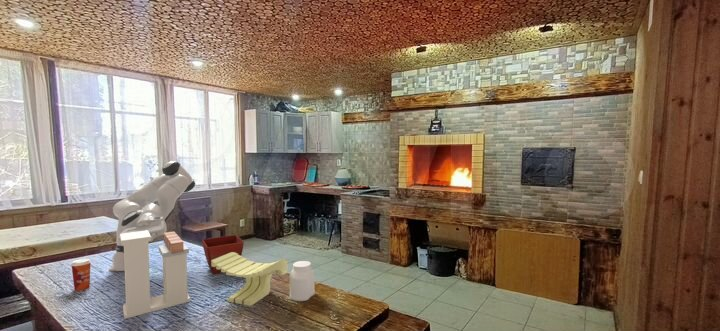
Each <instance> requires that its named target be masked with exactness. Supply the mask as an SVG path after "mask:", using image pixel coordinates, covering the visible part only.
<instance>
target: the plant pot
mask: <svg viewBox="0 0 720 331" xmlns="http://www.w3.org/2000/svg"><path fill="white" fill-rule="evenodd" d="M201 241H202V242H201V243H202V248H203V251H204V256H205V260H206V262H207V265H208V267H209V270H210V272H211V274H212V275H213V276H215V275H218V274H225V273H226V272H221V269H220V270H218V269H216V267H212V266H211V260H213V259H216V258H218V257H221V256H223V255H226V254H228V253H231V252H235V253H238V255H240V256H243V251H244V244H245V242H244V240H243V239H241V237H239V236H238V235H237V234H231V235H225V236H224V235H223V236H217V237H210V238H204V239H203V238H202V240H201Z"/></svg>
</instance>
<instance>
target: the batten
mask: <svg viewBox="0 0 720 331" xmlns="http://www.w3.org/2000/svg"><path fill="white" fill-rule="evenodd" d="M163 243H164V245H166V246H167V248H168V249H169V251H170V252H171V254H176V253H181V252H184V245H183V243H184V241H183V239H182V238H181V237H180V236H179V235H178V234H177V233H176V232H175V230H174V231H168V232H167V231H166V233H164V235H163Z"/></svg>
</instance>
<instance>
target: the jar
mask: <svg viewBox="0 0 720 331" xmlns="http://www.w3.org/2000/svg"><path fill="white" fill-rule="evenodd" d="M288 277H289V298H290V299H291V300H293V301H295V302H305V301H308V300H309V299H310V298H311V297H313V296H314V295H315V294H316V293H315V292H316V291H315V272H314V270H313V268H312V262H310V261H308V260H299V261H295V262H294V263H293V264H292V270H291V271H290V274H289V276H288Z"/></svg>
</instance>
